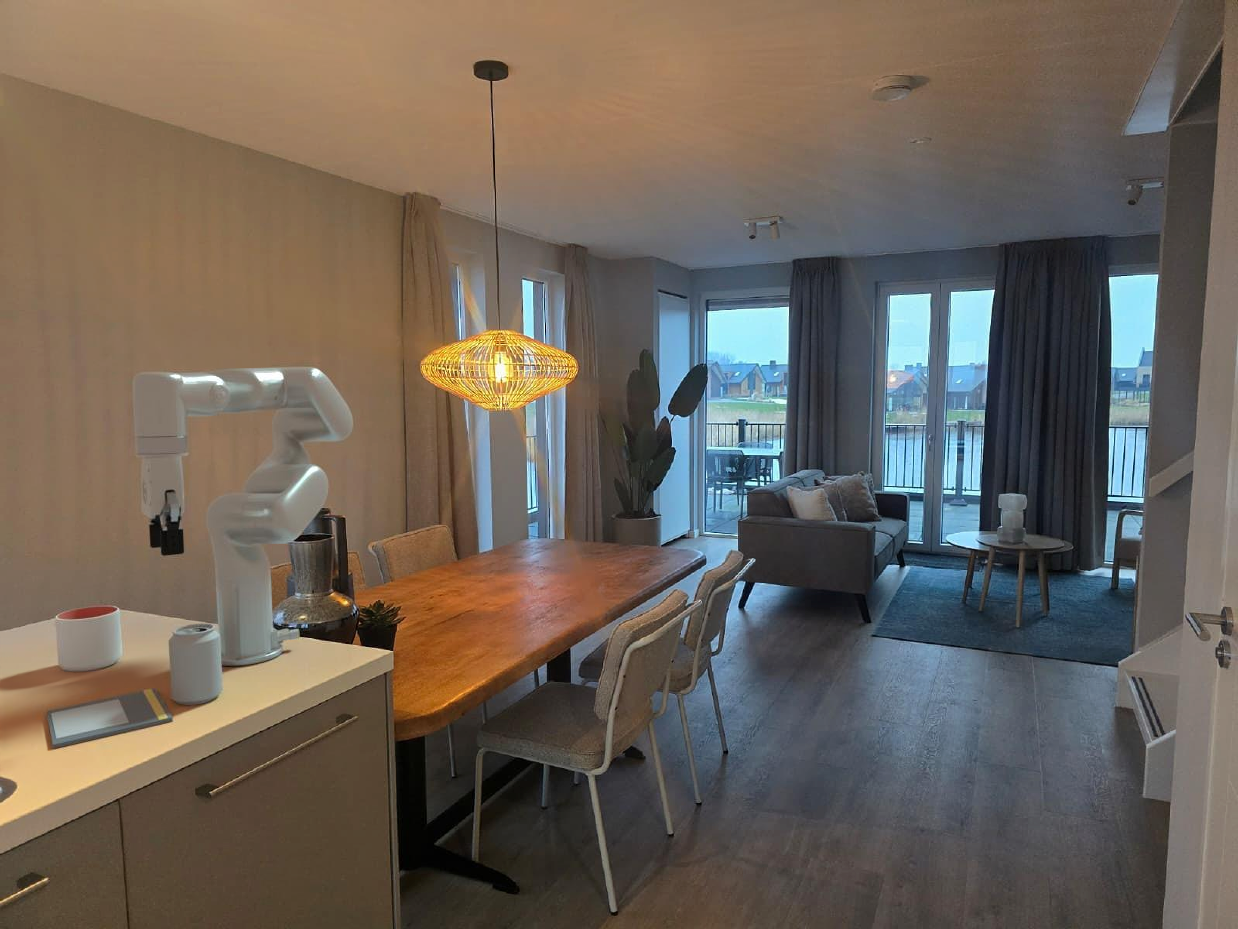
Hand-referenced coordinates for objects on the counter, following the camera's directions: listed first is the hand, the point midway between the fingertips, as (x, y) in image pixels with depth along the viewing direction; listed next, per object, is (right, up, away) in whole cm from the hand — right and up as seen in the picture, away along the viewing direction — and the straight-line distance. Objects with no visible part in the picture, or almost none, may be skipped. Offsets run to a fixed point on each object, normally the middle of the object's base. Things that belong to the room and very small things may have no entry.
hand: (166, 550), depth 131 cm
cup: (-24, -24, +17) cm, 38 cm away
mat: (-5, -25, -8) cm, 27 cm away
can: (+5, -25, 0) cm, 25 cm away
